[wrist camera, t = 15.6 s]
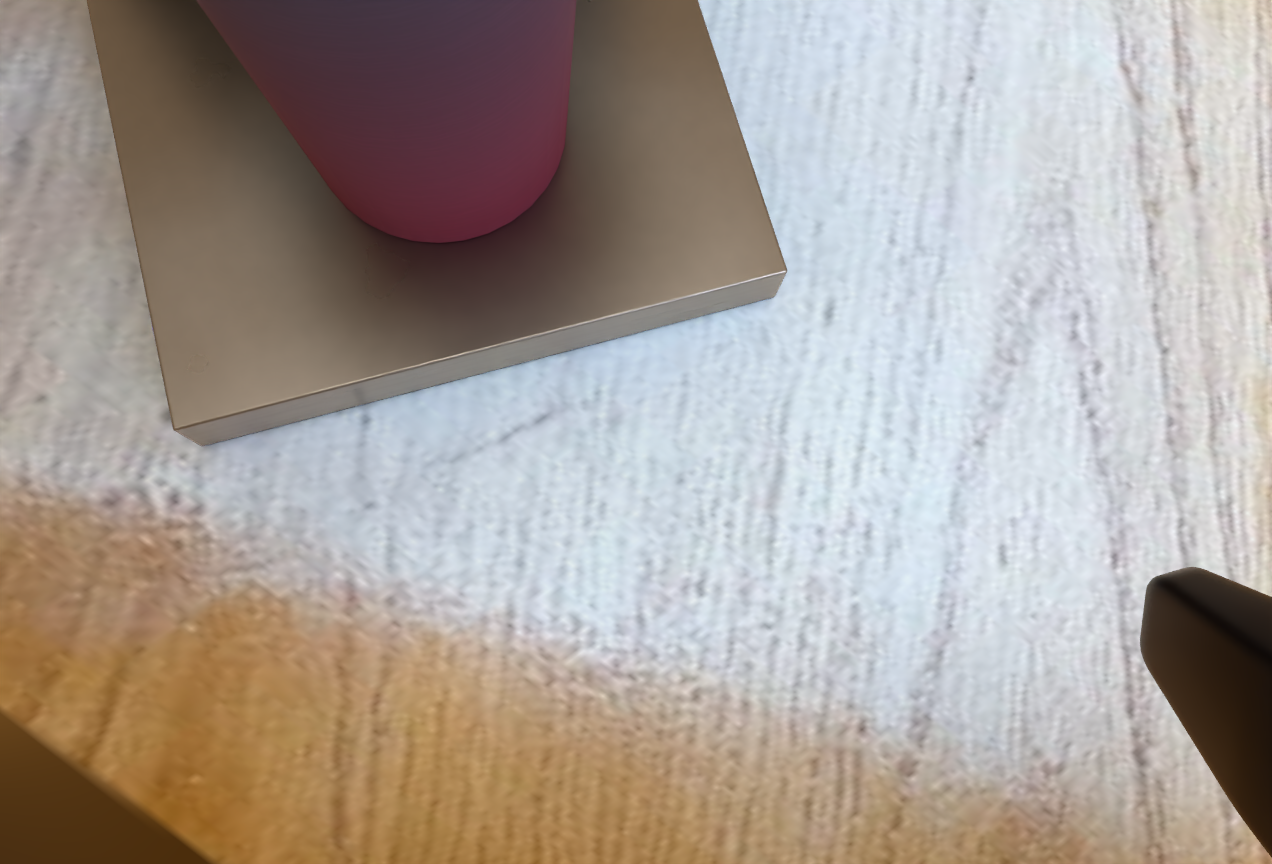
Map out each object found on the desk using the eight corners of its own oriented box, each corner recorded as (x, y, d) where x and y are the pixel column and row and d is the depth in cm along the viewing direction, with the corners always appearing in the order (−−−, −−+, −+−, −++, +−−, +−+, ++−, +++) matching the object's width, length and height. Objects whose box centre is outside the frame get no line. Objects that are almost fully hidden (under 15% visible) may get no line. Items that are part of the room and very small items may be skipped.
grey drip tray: (775, 297, 22) (788, 271, 21) (201, 447, 21) (172, 430, 20) (643, -106, 24) (647, -156, 23) (111, 11, 23) (79, -34, 22)
